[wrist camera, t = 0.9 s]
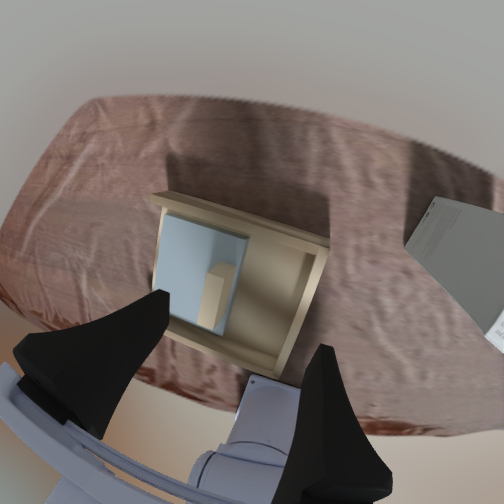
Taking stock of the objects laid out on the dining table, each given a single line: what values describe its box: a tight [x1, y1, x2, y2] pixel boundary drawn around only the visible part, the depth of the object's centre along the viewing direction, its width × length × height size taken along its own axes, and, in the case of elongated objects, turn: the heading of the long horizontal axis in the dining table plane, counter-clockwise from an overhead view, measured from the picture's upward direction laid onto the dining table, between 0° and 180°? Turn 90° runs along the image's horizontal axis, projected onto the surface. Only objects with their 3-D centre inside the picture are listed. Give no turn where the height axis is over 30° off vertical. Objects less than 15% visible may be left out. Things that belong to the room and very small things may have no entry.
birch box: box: [149, 191, 330, 380], centre depth 26 cm, size 14×16×4 cm
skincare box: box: [404, 196, 504, 354], centre depth 14 cm, size 8×6×15 cm
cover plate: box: [154, 212, 250, 336], centre depth 25 cm, size 10×8×4 cm
